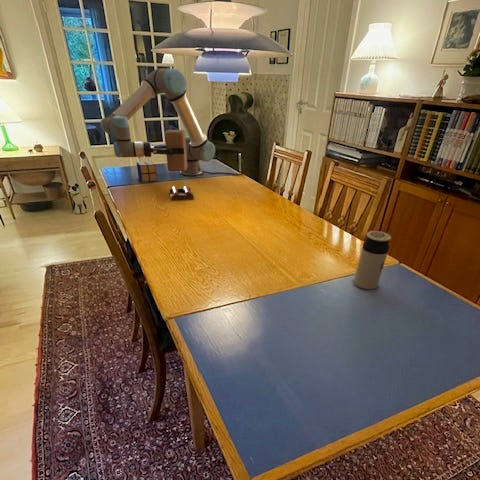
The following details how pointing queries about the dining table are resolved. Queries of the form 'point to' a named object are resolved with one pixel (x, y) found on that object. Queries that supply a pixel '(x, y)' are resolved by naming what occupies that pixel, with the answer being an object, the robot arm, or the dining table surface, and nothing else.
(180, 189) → the brown tray
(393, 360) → the dining table surface
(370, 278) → the travel mug
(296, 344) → the dining table surface
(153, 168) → the puzzle cube
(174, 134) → the block
